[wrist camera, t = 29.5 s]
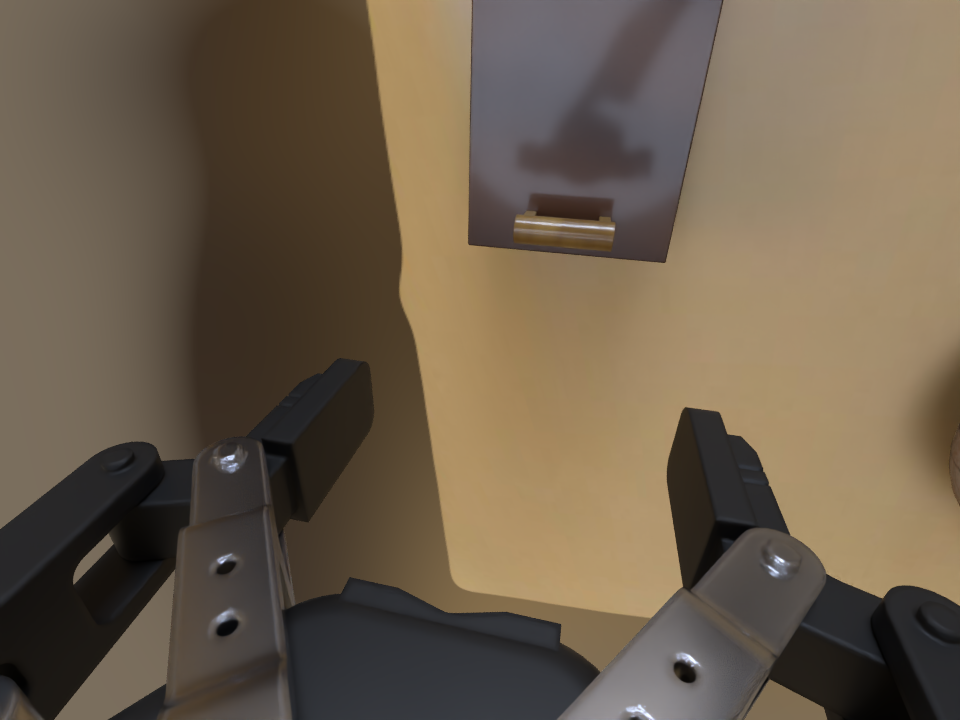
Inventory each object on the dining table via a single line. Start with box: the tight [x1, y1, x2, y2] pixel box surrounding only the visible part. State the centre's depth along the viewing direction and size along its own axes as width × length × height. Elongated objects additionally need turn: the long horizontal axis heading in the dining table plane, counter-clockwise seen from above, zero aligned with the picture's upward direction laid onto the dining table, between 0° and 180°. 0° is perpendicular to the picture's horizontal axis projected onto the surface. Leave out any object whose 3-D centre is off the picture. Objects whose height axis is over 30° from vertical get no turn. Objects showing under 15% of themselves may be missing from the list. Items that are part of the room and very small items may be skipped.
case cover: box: [468, 0, 723, 263], centre depth 26 cm, size 15×13×5 cm
